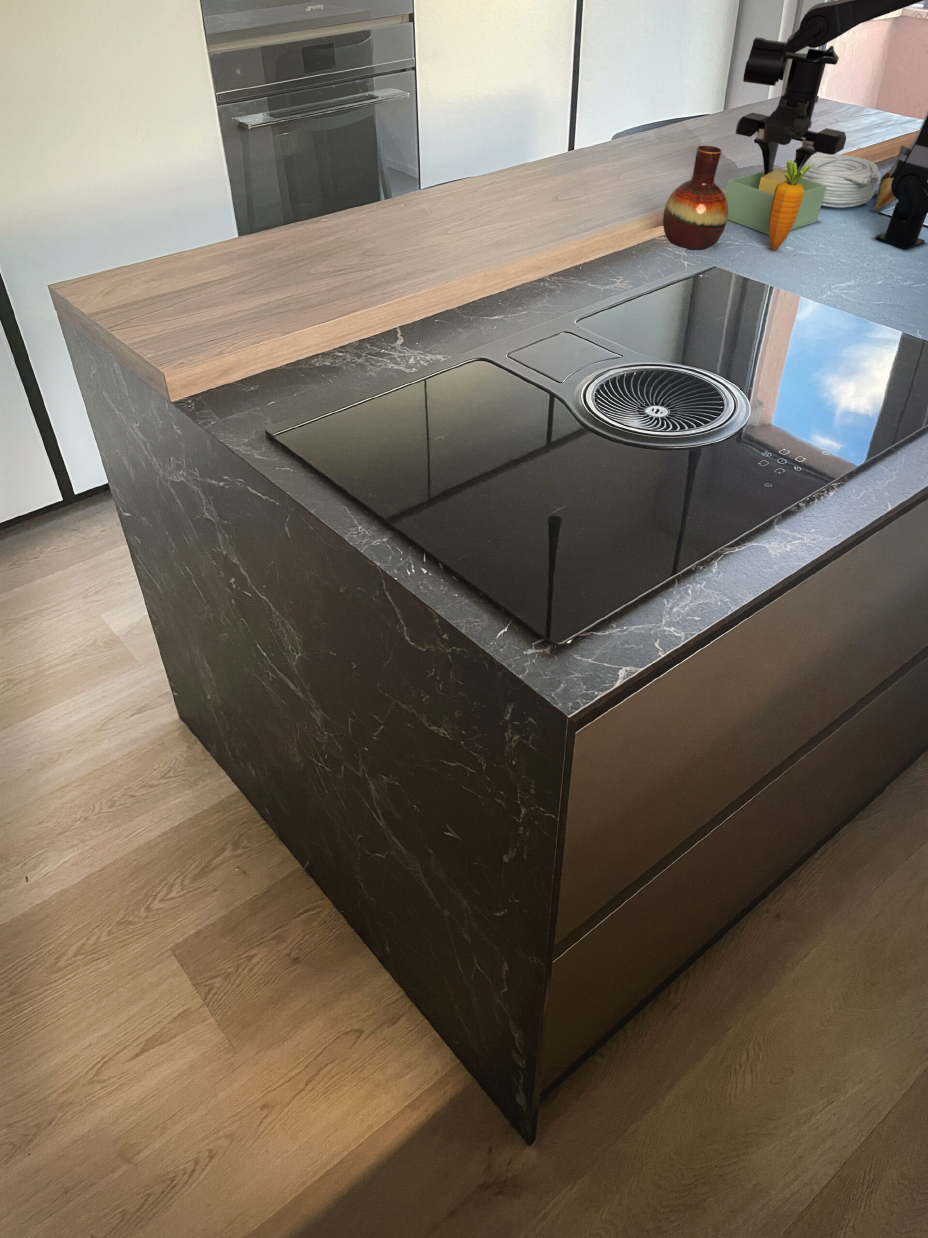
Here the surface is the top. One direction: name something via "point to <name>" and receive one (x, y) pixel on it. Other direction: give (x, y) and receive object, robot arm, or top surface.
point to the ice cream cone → (884, 192)
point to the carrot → (785, 205)
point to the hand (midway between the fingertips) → (777, 183)
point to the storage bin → (768, 202)
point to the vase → (697, 205)
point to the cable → (843, 178)
